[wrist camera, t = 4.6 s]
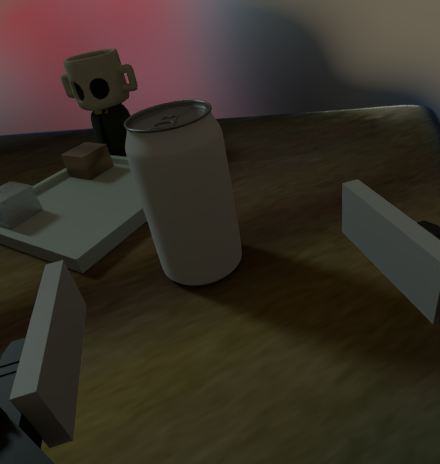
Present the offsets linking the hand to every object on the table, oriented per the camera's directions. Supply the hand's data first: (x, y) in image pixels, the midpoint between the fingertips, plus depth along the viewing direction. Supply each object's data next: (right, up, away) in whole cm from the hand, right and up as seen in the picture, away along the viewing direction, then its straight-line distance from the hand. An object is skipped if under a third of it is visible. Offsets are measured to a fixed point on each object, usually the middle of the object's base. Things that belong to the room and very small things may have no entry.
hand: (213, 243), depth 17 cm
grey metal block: (-22, +2, +23) cm, 32 cm away
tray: (-14, +4, +25) cm, 29 cm away
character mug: (-14, +13, +39) cm, 43 cm away
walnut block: (-16, +8, +31) cm, 36 cm away
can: (-1, -2, +13) cm, 13 cm away
